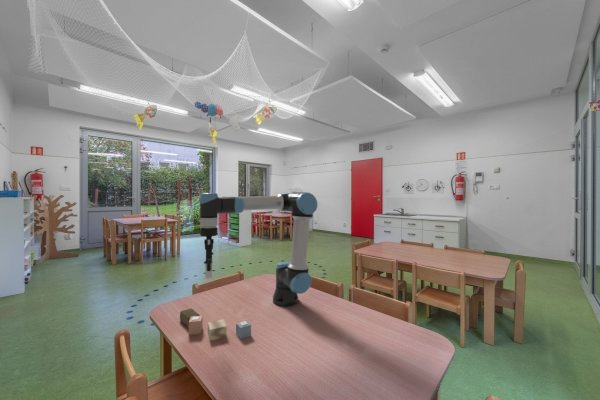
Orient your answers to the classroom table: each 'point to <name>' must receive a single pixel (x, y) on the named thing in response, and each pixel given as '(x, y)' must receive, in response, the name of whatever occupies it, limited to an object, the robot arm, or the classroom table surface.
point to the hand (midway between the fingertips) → (209, 273)
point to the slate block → (243, 329)
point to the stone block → (187, 316)
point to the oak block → (216, 329)
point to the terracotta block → (195, 325)
